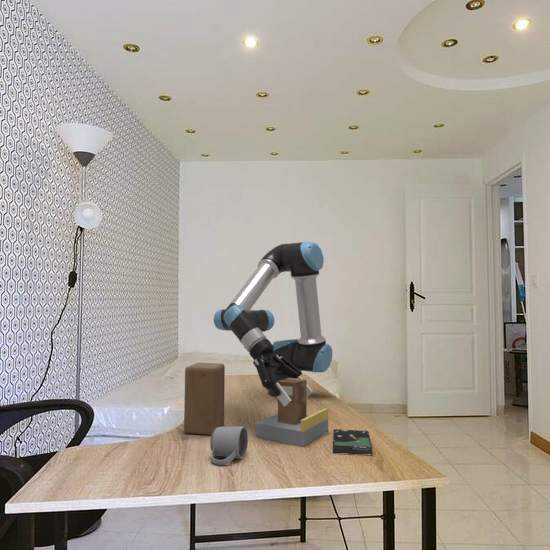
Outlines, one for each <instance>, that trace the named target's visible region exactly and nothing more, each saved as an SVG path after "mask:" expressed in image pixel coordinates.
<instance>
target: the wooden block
mask: <svg viewBox="0 0 550 550" xmlns="http://www.w3.org/2000/svg"><path fill="white" fill-rule="evenodd" d="M225 369H226V367H225V364H224V363H220V362H219V363H216V362H215V363H213V362H212V363H211V362H197V363H194V364H191V365H188V366H186V367H185V369H184V409H183V411H184V412H183V413H184V415H183V416H184V417H183V418H184V419H183V423H184V424H183V432H184V433H185V434H189V433H191V434H192V435H203V434H204V435H206V436H207V435H208V436H212V433H213V431H214V430H215V429H216V428H218V427H225V383H226V381H225V372H226V370H225ZM191 434H190V435H191Z"/></svg>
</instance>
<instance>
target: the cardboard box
mask: <svg viewBox="0 0 550 550" xmlns="http://www.w3.org/2000/svg"><path fill="white" fill-rule="evenodd" d="M278 383H279V385H280V386H281V387H282V388H283V390H284V391H285V392H286V394H287V395H288V396H289V398H290V399H291V401H290V402H289V403H288V404H287V406H285V407H284V406H283V404H282V403H281V402H280V400H279V399H278V398H277V414H278V422H281V423H287V424H293V425H296V424H298V423H300V422H301V420H302V419H304V418H306V417H307V415H308V414H307V406H308V405H307V404H308V403H307V401H308V400H307V399H308V397H307V385H308V384H307V378H306V379H305V378H302V379H297V378H287V379H283V380H280V381H278Z"/></svg>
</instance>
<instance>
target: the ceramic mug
mask: <svg viewBox="0 0 550 550" xmlns="http://www.w3.org/2000/svg"><path fill="white" fill-rule="evenodd" d="M248 438H249V437H248V431H247V428H246V427H245V426H241V425H240V426H223V427H218V428H216V429H215V430H214V431H213V433H212V435H210V451H211V454H210V455H211V456H210V457H211V461H212V463H213V464H215V465H216V466H225V465H228V464H230V463H231V462H232V461H234V459H236V460H237V459H238V460H242V459H243V458H245V456H246V454H247V451H248V445H249V443H248V442H249V439H248ZM215 456H216V457H220V458H224V459H216V458H215Z"/></svg>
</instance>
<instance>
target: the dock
mask: <svg viewBox="0 0 550 550" xmlns="http://www.w3.org/2000/svg"><path fill="white" fill-rule="evenodd" d="M326 432H327V433H329V408H327V407H326V408H323V409H320V410H319V411H316V412H314V413H312V414H311V415H308V414H307V417H306V418H304V419H302V420H301V422H300V423H298V424H296V425H293V424H287V423H281V422H278V413H275V414H274V415H271V416H269V417H267V418H264V419H262V420H260V421H257V422H255V438H259V439H265V440H269V441H273V442H274V441H275V442H280V443H285V444H289V445H294V446H299V447H305V446H307V445H309V444H310V443H312V442H314V441H315V440H317V439H319V438H320V437H322V436H324V435H326V434H327V433H326ZM323 434H324V435H323Z"/></svg>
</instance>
